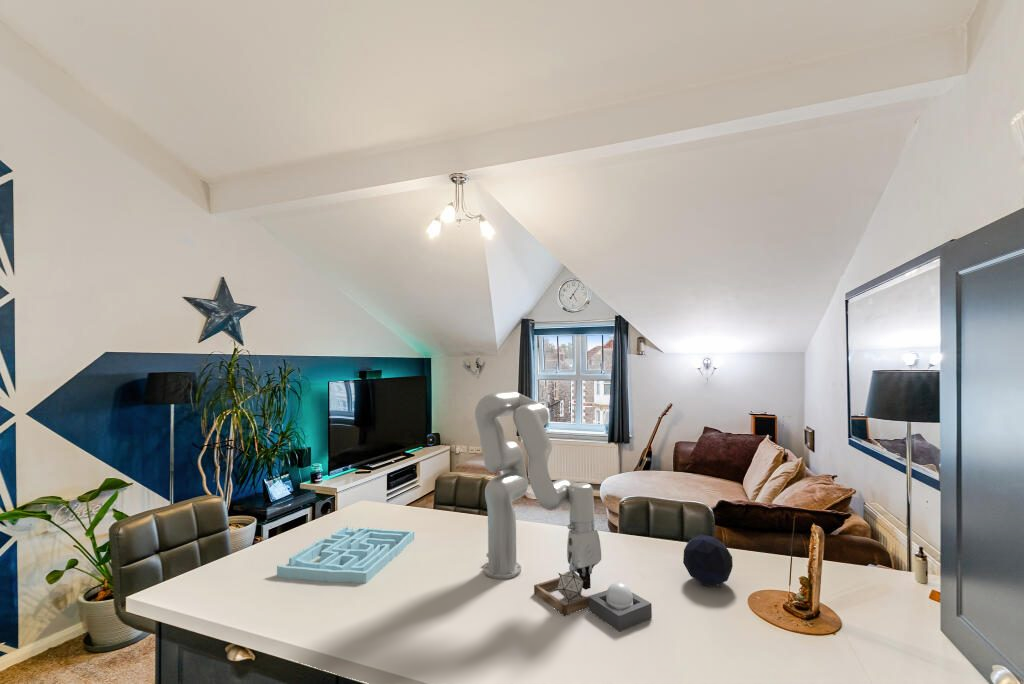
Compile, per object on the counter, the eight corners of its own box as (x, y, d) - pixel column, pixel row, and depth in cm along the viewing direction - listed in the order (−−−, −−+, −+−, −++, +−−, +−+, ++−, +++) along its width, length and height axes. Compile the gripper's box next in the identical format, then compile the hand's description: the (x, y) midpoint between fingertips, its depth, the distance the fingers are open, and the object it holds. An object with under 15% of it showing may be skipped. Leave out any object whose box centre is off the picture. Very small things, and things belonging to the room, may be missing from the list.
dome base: (588, 611, 130) (588, 596, 130) (620, 599, 136) (620, 585, 136) (619, 631, 119) (619, 616, 120) (651, 618, 126) (651, 603, 126)
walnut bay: (534, 593, 140) (534, 585, 140) (570, 582, 147) (570, 573, 147) (564, 616, 127) (564, 607, 127) (602, 602, 134) (602, 593, 134)
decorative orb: (667, 556, 153) (684, 528, 145) (704, 549, 158) (722, 523, 150) (691, 598, 142) (711, 571, 134) (730, 591, 147) (751, 564, 139)
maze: (341, 534, 192) (341, 525, 192) (415, 539, 186) (415, 530, 186) (273, 578, 153) (274, 566, 153) (365, 586, 147) (365, 574, 147)
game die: (580, 613, 135) (588, 593, 130) (551, 605, 135) (558, 585, 130) (581, 584, 142) (589, 565, 137) (554, 577, 143) (561, 557, 138)
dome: (601, 608, 129) (600, 581, 129) (620, 600, 133) (619, 575, 133) (619, 620, 123) (618, 592, 123) (638, 612, 126) (638, 585, 127)
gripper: (570, 533, 133) (573, 599, 132) (609, 523, 141) (612, 585, 140) (555, 527, 140) (557, 589, 139) (592, 517, 148) (595, 576, 146)
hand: (585, 587), depth 139 cm, fingers closed
